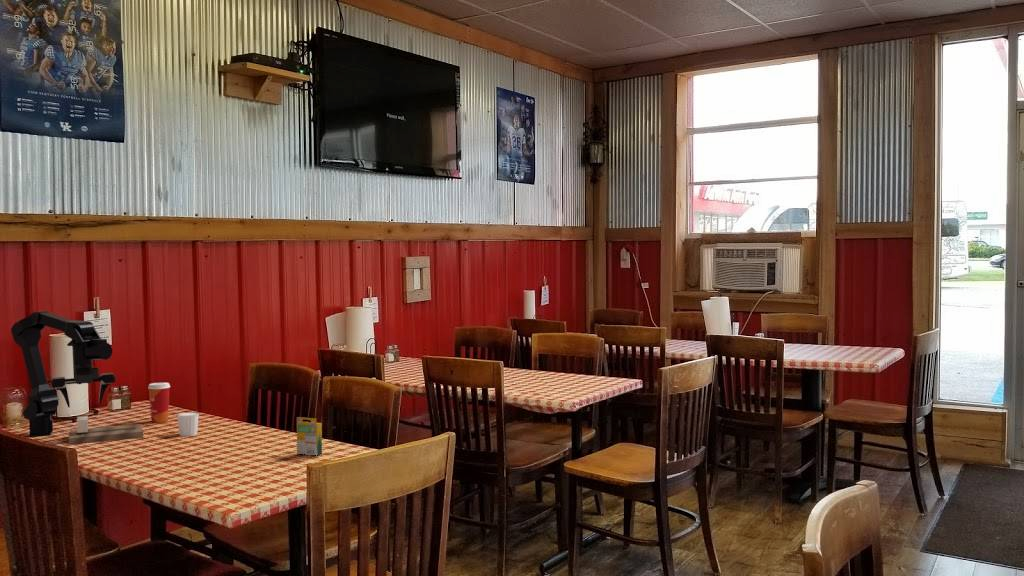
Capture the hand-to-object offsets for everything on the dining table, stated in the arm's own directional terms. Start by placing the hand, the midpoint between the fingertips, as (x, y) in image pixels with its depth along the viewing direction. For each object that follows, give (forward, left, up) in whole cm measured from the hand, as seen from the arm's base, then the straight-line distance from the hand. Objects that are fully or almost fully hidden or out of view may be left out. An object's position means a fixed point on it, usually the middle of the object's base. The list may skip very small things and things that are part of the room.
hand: (84, 405), depth 272 cm
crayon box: (+61, -57, -11) cm, 84 cm away
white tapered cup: (+31, -9, -11) cm, 34 cm away
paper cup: (+24, +19, -11) cm, 33 cm away
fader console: (+6, 0, -11) cm, 13 cm away
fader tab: (-1, 0, -9) cm, 9 cm away
